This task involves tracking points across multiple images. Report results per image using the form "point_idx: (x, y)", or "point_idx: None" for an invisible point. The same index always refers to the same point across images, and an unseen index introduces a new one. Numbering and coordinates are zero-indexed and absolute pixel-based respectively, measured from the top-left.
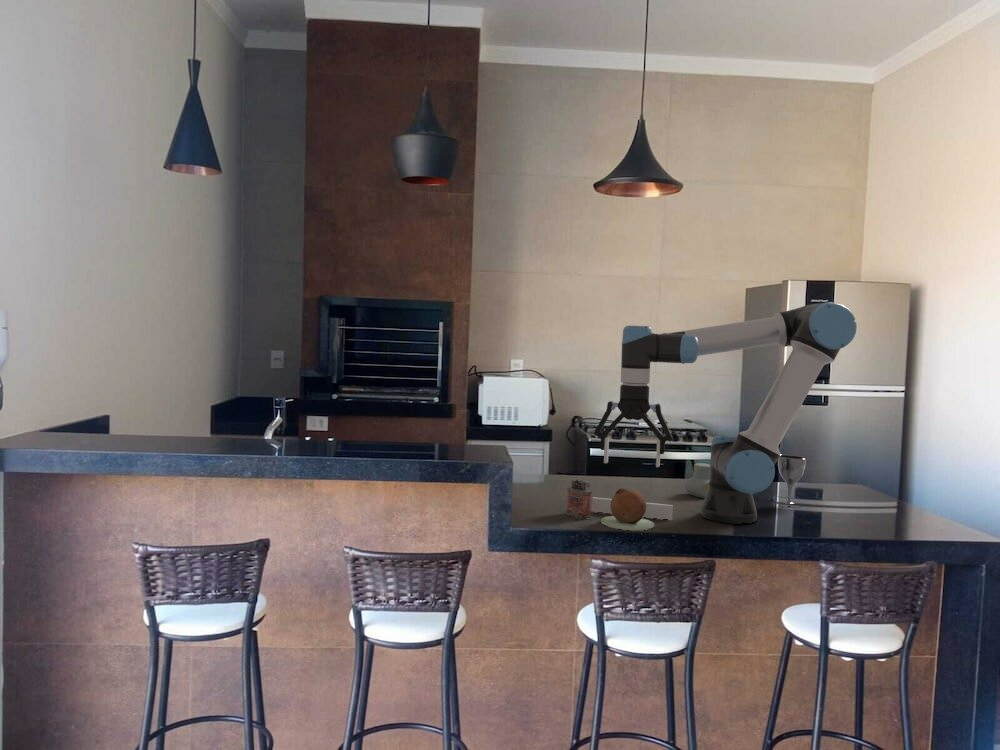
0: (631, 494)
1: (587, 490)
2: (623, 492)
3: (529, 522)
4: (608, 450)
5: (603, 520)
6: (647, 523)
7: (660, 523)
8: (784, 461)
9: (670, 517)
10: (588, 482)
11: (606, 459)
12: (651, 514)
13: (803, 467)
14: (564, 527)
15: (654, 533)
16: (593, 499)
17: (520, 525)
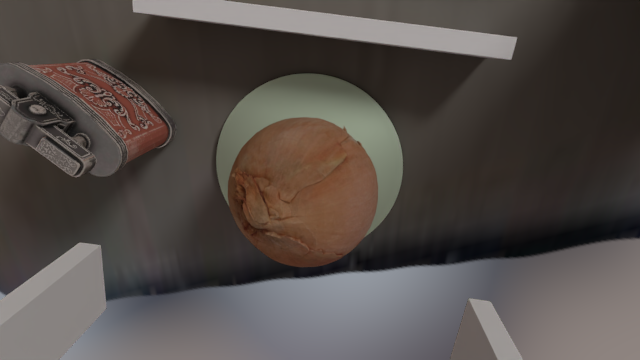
0: (307, 259)
1: (98, 141)
2: (269, 240)
3: (13, 236)
4: (32, 306)
5: (225, 171)
6: (379, 167)
7: (431, 120)
8: None
9: (484, 57)
10: (76, 168)
11: (86, 328)
12: (406, 47)
13: None
14: (124, 262)
15: (392, 256)
16: (141, 12)
17: (5, 274)
